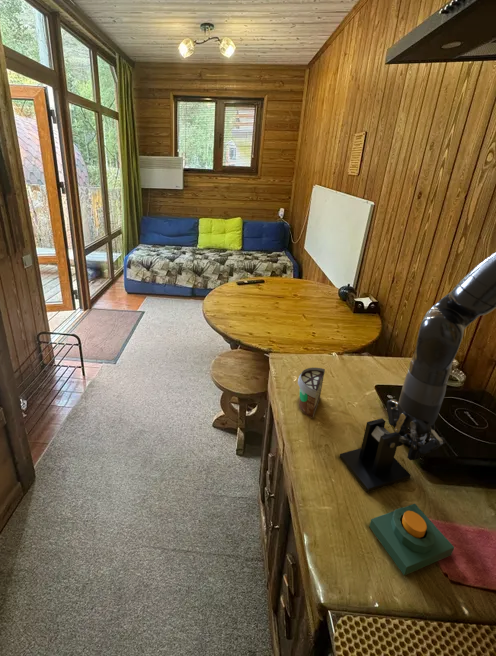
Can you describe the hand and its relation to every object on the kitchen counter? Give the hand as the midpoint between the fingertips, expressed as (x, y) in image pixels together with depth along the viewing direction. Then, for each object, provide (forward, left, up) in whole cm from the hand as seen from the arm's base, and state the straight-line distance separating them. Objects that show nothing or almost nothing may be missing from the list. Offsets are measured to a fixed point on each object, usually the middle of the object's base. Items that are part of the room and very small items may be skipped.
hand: (404, 451), depth 74 cm
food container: (+19, -17, -3) cm, 26 cm away
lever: (+5, +2, +4) cm, 6 cm away
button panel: (+8, +18, -2) cm, 20 cm away
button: (+8, +18, +1) cm, 20 cm away
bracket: (+8, +3, -2) cm, 9 cm away
